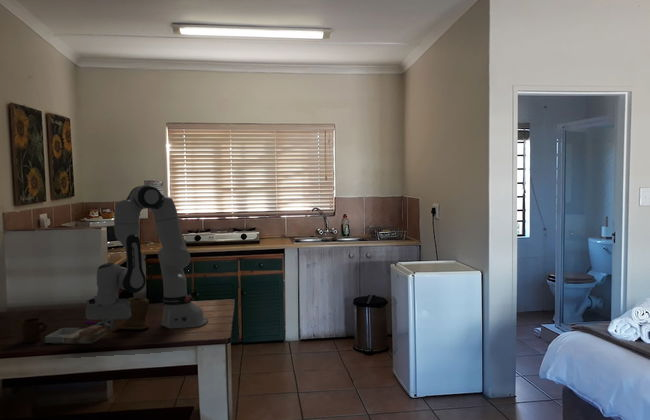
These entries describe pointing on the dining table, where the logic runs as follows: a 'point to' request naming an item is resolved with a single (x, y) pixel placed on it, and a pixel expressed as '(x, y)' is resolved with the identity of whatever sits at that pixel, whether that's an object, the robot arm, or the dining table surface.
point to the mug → (33, 330)
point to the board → (76, 339)
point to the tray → (59, 335)
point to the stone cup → (135, 315)
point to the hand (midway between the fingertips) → (109, 328)
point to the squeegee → (95, 322)
